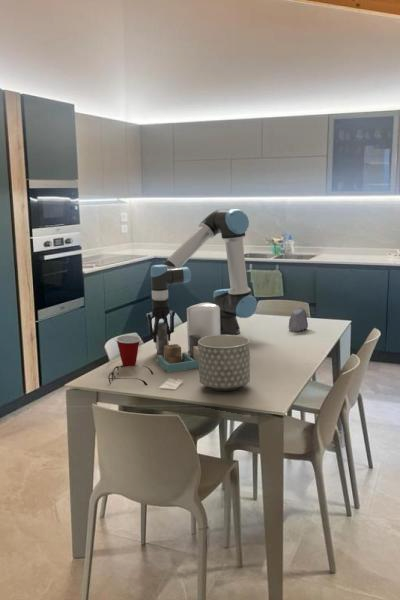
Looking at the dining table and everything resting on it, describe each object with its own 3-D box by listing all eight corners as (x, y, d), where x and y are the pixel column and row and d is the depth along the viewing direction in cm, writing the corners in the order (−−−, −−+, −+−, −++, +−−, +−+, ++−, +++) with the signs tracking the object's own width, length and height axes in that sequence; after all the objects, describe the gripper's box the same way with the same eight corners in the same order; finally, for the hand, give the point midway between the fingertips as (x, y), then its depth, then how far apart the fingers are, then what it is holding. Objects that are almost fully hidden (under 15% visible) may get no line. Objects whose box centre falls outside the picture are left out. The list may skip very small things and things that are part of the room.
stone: (296, 329, 309) (312, 326, 303) (288, 337, 301) (305, 333, 295) (288, 310, 307) (304, 306, 301) (280, 316, 300) (296, 312, 293)
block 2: (200, 355, 258) (199, 334, 257) (211, 363, 245) (210, 341, 244) (187, 357, 256) (187, 335, 255) (198, 365, 243) (197, 342, 242)
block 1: (167, 350, 268) (166, 321, 265) (181, 362, 248) (180, 331, 245) (155, 352, 266) (153, 323, 263) (168, 364, 246) (167, 332, 243)
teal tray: (208, 355, 258) (208, 349, 257) (221, 364, 244) (221, 357, 243) (157, 362, 250) (157, 355, 249) (167, 372, 236) (167, 365, 235)
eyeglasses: (117, 373, 237) (116, 364, 236) (154, 374, 235) (154, 364, 234) (106, 386, 221) (106, 377, 220) (147, 387, 219) (146, 377, 218)
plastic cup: (133, 369, 240) (132, 341, 238) (112, 367, 245) (110, 339, 243) (146, 362, 250) (145, 336, 248) (125, 360, 255) (124, 334, 252)
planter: (192, 393, 209) (190, 345, 206) (209, 377, 227) (208, 333, 223) (241, 398, 202) (240, 349, 199) (256, 382, 220) (255, 336, 217)
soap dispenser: (205, 343, 279) (203, 299, 275) (229, 347, 271) (228, 301, 267) (186, 350, 267) (185, 304, 263) (211, 355, 259) (210, 307, 255)
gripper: (175, 296, 267) (177, 344, 271) (139, 299, 261) (142, 348, 265) (180, 298, 260) (182, 348, 264) (144, 301, 254) (146, 352, 258)
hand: (162, 348), depth 265 cm, fingers closed on block 1, 4 cm apart
